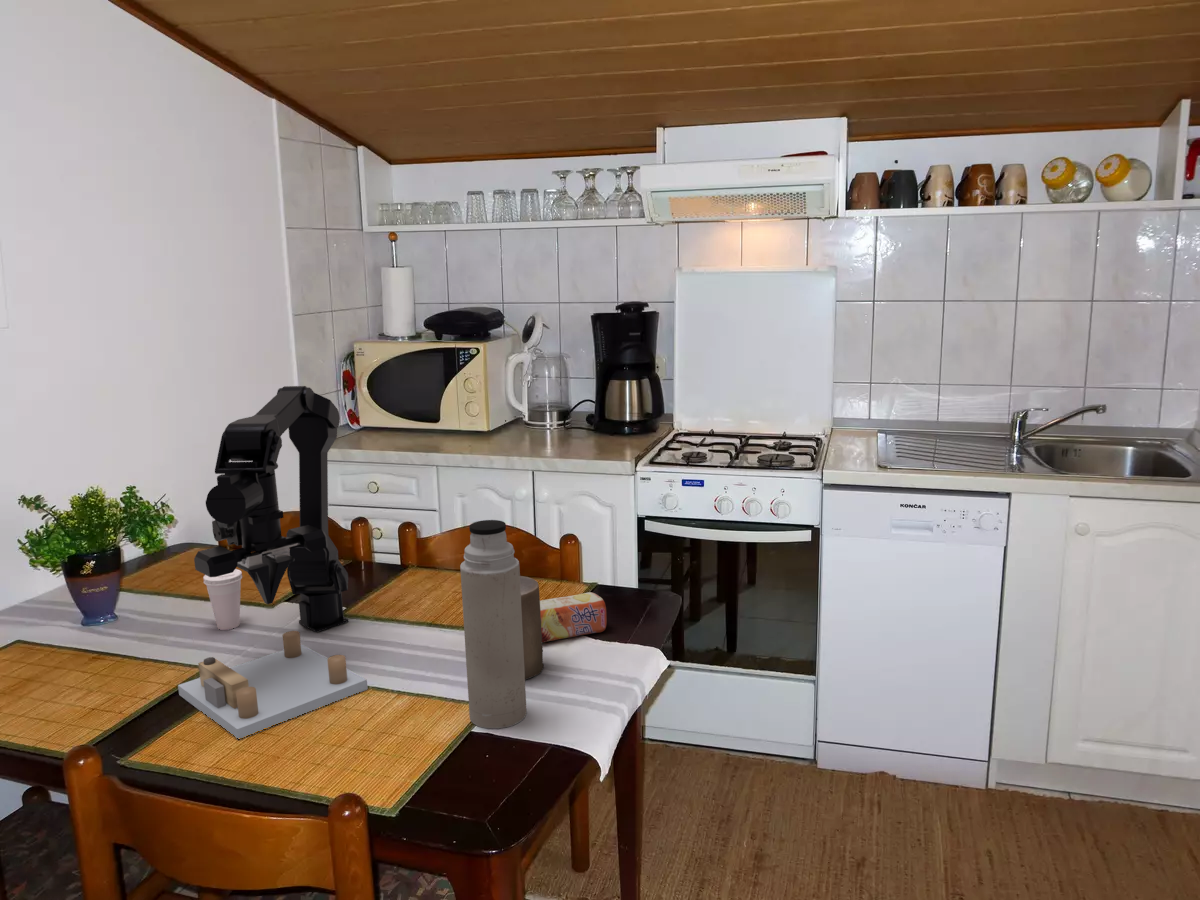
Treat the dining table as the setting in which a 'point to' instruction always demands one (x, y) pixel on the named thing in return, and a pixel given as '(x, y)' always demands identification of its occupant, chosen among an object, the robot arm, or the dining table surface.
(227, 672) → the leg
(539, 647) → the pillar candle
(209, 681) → the grey peg board
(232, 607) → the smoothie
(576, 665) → the dining table surface
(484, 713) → the thermos bottle
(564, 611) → the snack package
